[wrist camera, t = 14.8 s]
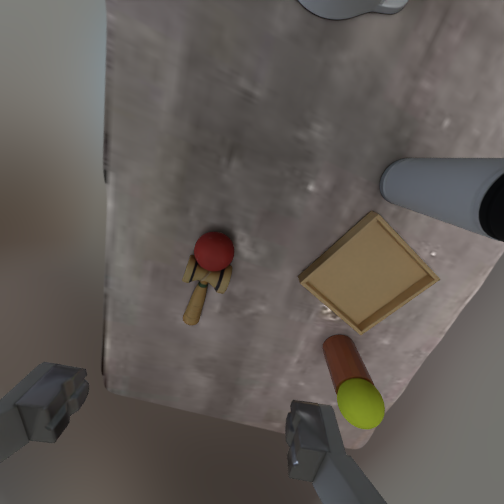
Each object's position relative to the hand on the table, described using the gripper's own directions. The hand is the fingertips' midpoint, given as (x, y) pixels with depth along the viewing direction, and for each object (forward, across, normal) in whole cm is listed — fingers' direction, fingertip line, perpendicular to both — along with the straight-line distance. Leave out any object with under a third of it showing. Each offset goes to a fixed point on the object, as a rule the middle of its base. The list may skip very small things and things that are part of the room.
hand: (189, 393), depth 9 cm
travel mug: (+29, -21, -9) cm, 37 cm away
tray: (+29, -21, +6) cm, 36 cm away
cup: (+29, -21, +22) cm, 42 cm away
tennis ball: (+18, -21, +22) cm, 36 cm away
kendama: (+29, +5, +11) cm, 32 cm away
